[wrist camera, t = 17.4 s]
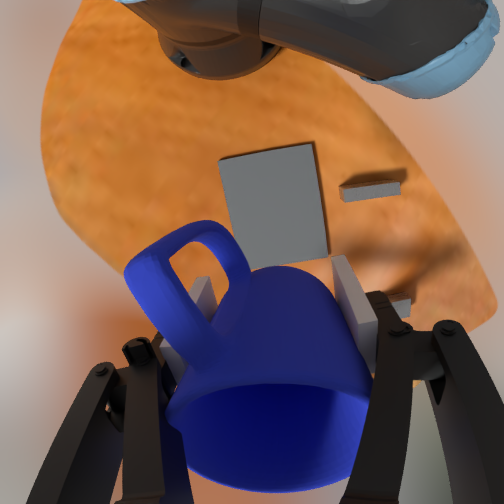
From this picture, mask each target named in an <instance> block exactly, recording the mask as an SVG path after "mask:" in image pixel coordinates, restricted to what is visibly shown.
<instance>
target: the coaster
mask: <svg viewBox="0 0 504 504" xmlns="http://www.w3.org/2000/svg"><path fill="white" fill-rule="evenodd" d="M217 162H218V166H219V171H220V175H221V180H222V184H223V189H224V193H225V198H226V202H227V207H228V211H229V215H230V220H231V224H232V229H233V233H234V237H235V240H236V242H237V243H238V245H239V246H240V248H241V250H242V252H243V253H244V255H245V257H246V259H247V261H248V264H249V267H250V269H257V268H263V267H270V266H276V265H283V264H289V263H295V262H301V261H308V260H314V259H320V258H326V257H328V250H327V242H326V234H325V227H324V219H323V212H322V205H321V198H320V192H319V186H318V179H317V173H316V167H315V162H314V156H313V150H312V145H311V144H306V145H300V146H294V147H288V148H282V149H276V150H270V151H265V152H259V153H254V154H249V155H244V156H239V157H234V158H230V159H225V160H220V161H217Z"/></svg>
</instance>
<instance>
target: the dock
mask: <svg viewBox="0 0 504 504" xmlns="http://www.w3.org/2000/svg"><path fill="white" fill-rule="evenodd" d="M339 191H340V198H341V199H342V200H343V201H344V202H352V201H359V200H366V199H373V198H380V197H387V196H395V195H401V192H400V182H398V181H396V180H393V179H390V180H381V181H374V182H366V183H359V184H351V185H344V186H339ZM387 297H388V299H389V300H390V302H391V304H392V305H393V307H394V309H395V310H396V312H397V314H398V315H399V317H400V319H401V318H406V317H410V309H411V298H410V296H409V295H408V293H407V292H402V293H398V294H393V295H388V296H387Z"/></svg>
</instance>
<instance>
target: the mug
mask: <svg viewBox="0 0 504 504" xmlns="http://www.w3.org/2000/svg"><path fill="white" fill-rule="evenodd" d="M193 241H197V242H201V243H202V244H204V245H205V246H207V247H208V248H209V249H210V250H211V251H212V252H213V254H214V255H215V256H216V258H217V259H218V260H219V262H220V264H221V265H222V267H223V269H224V271H225V272H226V275H227V277H228V280H229V289H228V291H227V292H226V294H225V295H224V297H223V298H222V300H221V302H220V304H219V306H218V308H217V310H216V312H215V314H214V316H213V317H212V319H211V321H210V323H209V322H208V320H207V319H206V318H205V316H204V315H203V314H202V312H201V311H200V310H199V308H198V307H197V305H196V304H195V303H194V301H193V300H192V299H191V297H190V295H189V294H188V292H187V291H186V289H185V288H184V286H183V285H182V283H181V281H180V280H179V278H178V277H177V275H176V273H175V272H174V270H173V269H172V267H171V264H170V262H169V258H170V257H171V256H172V255H174V254H175V253H176V252H177V251H178V250H180V249H181V248H182V247H183V246H185V245H186V244H188V243H190V242H193ZM124 278H125V281H126V283H127V285H128V287H129V289H130V290H131V292H132V294H133V295H134V297H135V299H136V300H137V301H138V303H139V304H140V306H141V308H142V309H143V310H144V312H145V314H146V315H147V317H148V318H149V319H150V320H151V322H152V323H153V325H154V326H155V327H156V328H157V330H158V331H159V332H160V333H161V335H162V336H163V337H164V338H165V340H166V341H167V342H168V343H169V344H170V346H171V347H172V348H173V349H174V350H175V351H176V352H177V353H178V354H179V355H180V356H181V357H182V358H183V359H185V360H186V361H187V362H188V363H189V364H188V366H187V368H186V370H185V372H184V374H183V376H182V378H181V380H180V382H179V384H178V386H177V388H176V390H175V392H174V394H173V396H172V398H171V400H170V402H169V404H168V406H167V408H166V410H165V417H166V420H167V421H168V423H169V424H170V425H171V426H173V427H174V428H176V429H177V430H178V431H180V432H181V433H182V438H183V444H184V451H185V457H186V463H187V468H189V469H190V470H192V471H193V472H195V473H197V474H198V475H200V476H202V477H204V478H206V479H209V480H211V481H213V482H216V483H218V484H221V485H224V486H228V487H231V488H235V489H240V490H246V491H252V492H261V493H290V492H299V491H306V490H311V489H315V488H320V487H323V486H326V485H330V484H333V483H336V482H338V481H340V480H343V479H345V478H347V477H349V476H350V475H351V472H352V468H353V465H354V461H355V458H356V454H357V451H358V447H359V443H360V439H361V435H362V431H363V427H364V423H365V419H366V414H367V410H368V405H369V400H370V396H371V390H372V385H373V380H374V379H373V377H372V375H371V373H370V370H369V368H368V366H367V364H366V362H365V360H364V358H363V356H362V355H361V353H360V352H359V351H358V348H357V346H356V343H355V341H354V338H353V336H352V334H351V331H350V329H349V327H348V325H347V322H346V320H345V318H344V316H343V314H342V312H341V310H340V308H339V306H338V304H337V302H336V300H335V298H334V296H333V295H332V293H331V292H330V290H329V289H328V288H327V287H326V286H325V285H324V284H323V283H322V282H321V281H320V280H319V279H317V278H316V277H315V276H313V275H311V274H310V273H308V272H306V271H303V270H301V269H297V268H294V267H288V266H270V267H265V268H261V269H258V270H255V271H253V272H251V270H250V267H249V264H248V261H247V259H246V257H245V255H244V253H243V252H242V250H241V248H240V246H239V245H238V243H237V242H236V240H235V239H234V237H233V236H232V235H231V234H230V232H229V231H228V230H227V229H226V228H225V227H224V226H222V225H221V224H219V223H218V222H215V221H211V220H202V221H197V222H193V223H190V224H187V225H185V226H183V227H181V228H179V229H177V230H175V231H173V232H171V233H169V234H168V235H166V236H164V237H163V238H161V239H160V240H158V241H156V242H155V243H153V244H152V245H150V246H149V247H147V248H146V249H144V250H143V251H141V252H140V253H139V254H137V255H136V256H135V257H134V258H133V259H131V260H130V262H129V263H128V264H127V266H126V267H125V270H124Z"/></svg>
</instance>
